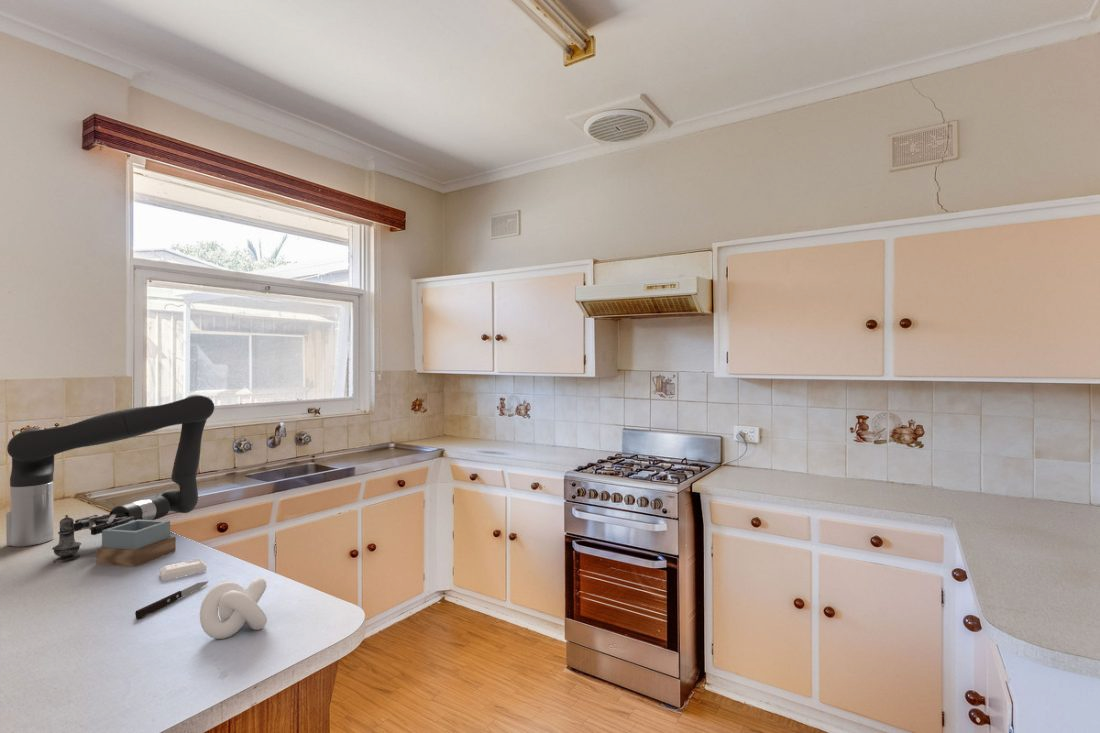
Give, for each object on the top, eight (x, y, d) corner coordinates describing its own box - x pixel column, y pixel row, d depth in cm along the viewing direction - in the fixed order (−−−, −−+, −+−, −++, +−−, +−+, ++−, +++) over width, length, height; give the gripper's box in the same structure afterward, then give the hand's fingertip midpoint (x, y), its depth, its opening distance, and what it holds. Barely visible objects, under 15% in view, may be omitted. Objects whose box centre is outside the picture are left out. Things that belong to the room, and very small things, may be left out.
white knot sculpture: (229, 614, 113) (229, 571, 113) (285, 615, 112) (285, 571, 112) (191, 642, 101) (191, 594, 101) (254, 643, 101) (254, 595, 101)
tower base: (97, 565, 142) (97, 548, 142) (139, 550, 154) (139, 534, 154) (135, 568, 140) (135, 551, 140) (175, 552, 151) (175, 536, 151)
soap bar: (160, 576, 134) (160, 566, 134) (202, 567, 140) (202, 557, 140) (162, 582, 130) (162, 571, 130) (206, 573, 136) (206, 562, 136)
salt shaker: (63, 563, 142) (63, 518, 142) (46, 562, 143) (45, 516, 143) (87, 556, 148) (86, 512, 148) (69, 554, 149) (69, 511, 149)
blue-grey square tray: (102, 547, 142) (101, 530, 142) (138, 535, 153) (138, 519, 153) (135, 549, 141) (135, 532, 141) (170, 537, 151) (170, 521, 151)
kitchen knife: (138, 621, 110) (138, 611, 110) (134, 620, 110) (134, 610, 110) (210, 585, 128) (210, 576, 128) (206, 585, 128) (206, 576, 128)
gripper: (113, 501, 166) (57, 515, 150) (153, 503, 163) (100, 518, 147) (113, 525, 166) (57, 543, 150) (153, 527, 163) (100, 545, 147)
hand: (78, 530), depth 148 cm, fingers open, 8 cm apart
